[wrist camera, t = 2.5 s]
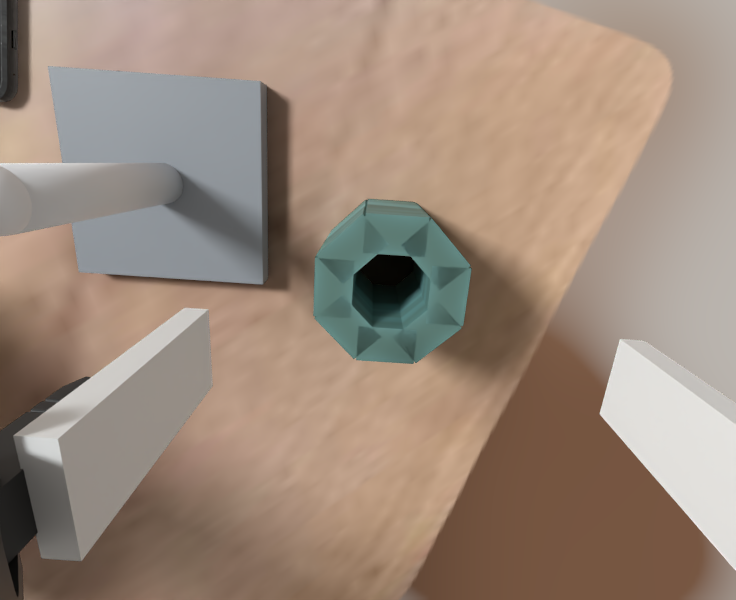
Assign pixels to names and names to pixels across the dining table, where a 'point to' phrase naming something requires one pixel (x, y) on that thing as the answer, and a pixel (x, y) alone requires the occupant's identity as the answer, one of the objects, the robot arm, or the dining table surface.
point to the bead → (387, 302)
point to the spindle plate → (199, 153)
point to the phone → (8, 49)
